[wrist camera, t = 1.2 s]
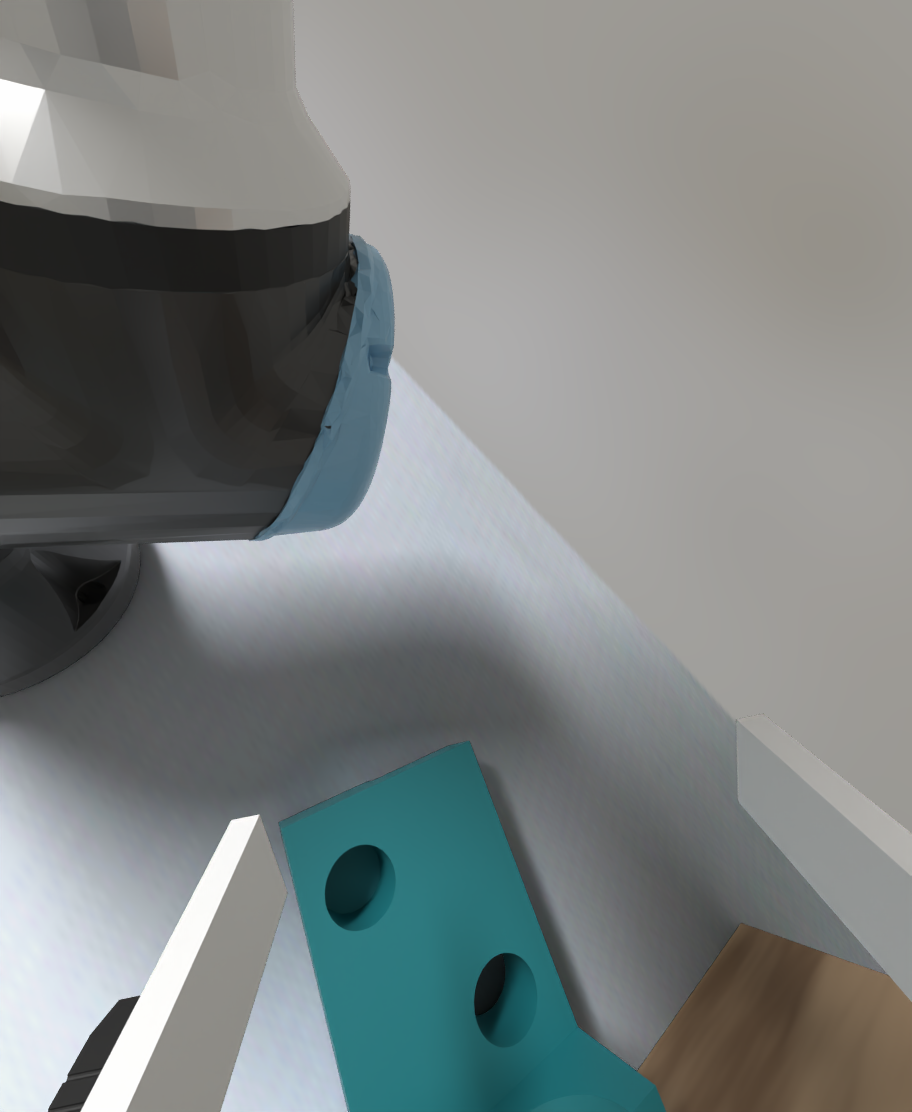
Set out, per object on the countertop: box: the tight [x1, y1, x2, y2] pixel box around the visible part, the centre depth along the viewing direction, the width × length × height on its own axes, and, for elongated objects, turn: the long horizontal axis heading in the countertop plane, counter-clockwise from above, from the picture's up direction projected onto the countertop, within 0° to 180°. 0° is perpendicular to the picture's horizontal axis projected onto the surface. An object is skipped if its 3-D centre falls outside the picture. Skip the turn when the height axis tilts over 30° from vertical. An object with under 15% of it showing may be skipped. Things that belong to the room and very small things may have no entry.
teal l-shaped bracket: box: [279, 741, 666, 1112], centre depth 22 cm, size 18×11×10 cm, turn 23°
